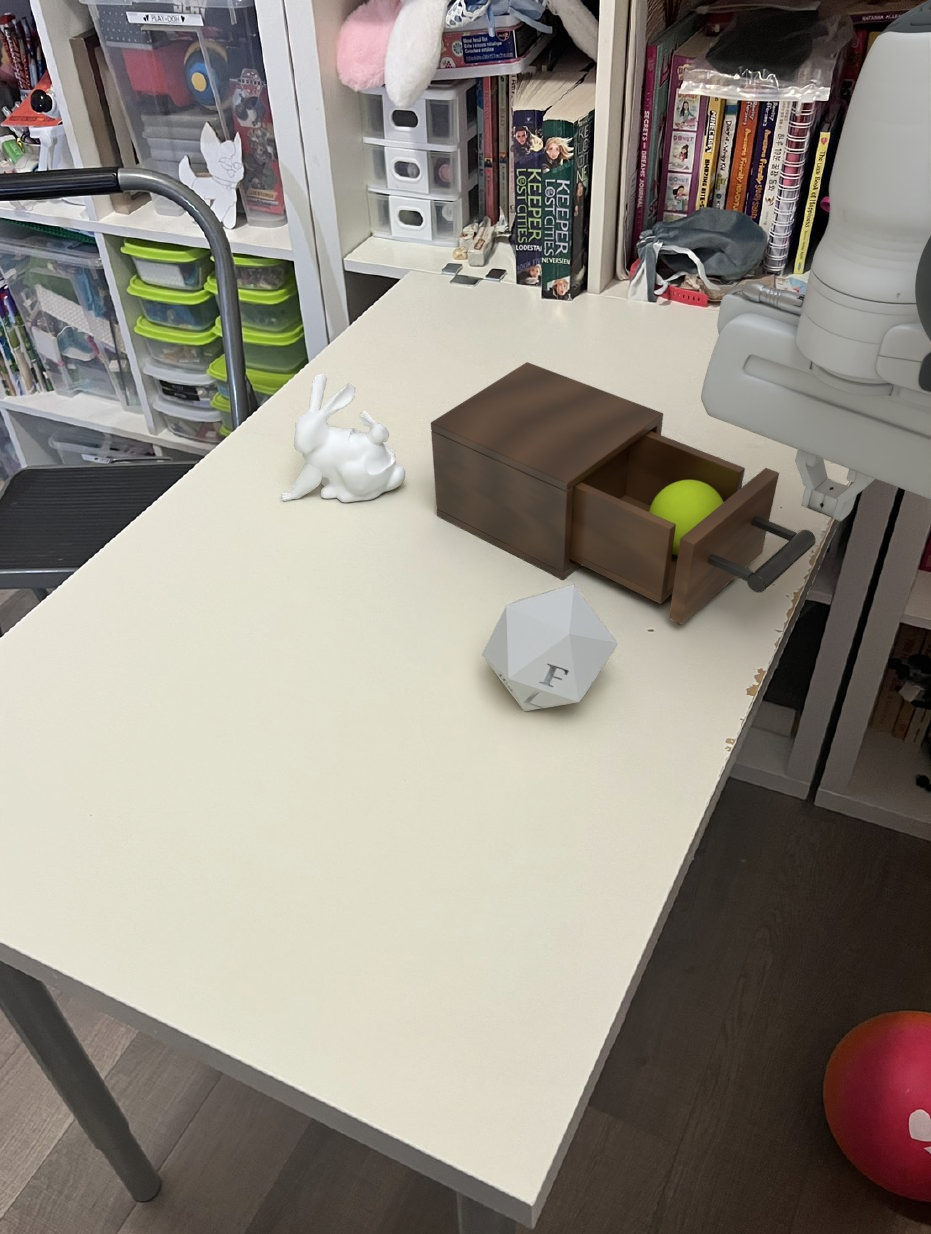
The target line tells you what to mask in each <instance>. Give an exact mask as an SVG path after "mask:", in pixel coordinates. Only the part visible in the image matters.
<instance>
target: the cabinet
mask: <svg viewBox="0 0 931 1234" xmlns="http://www.w3.org/2000/svg"><path fill="white" fill-rule="evenodd" d="M663 421H664V413H663V412H661V411H659V410H656V409H653V408H651V407H648V406H645V405H643V404H640V403H638V402H635V401H632V400H629V399H626V398H624V397H621V396H619V395H616V394H614V393H611V392H609V391H605V390H602V389H600V388H597V387H595V386H592V385H590V384H587V383H585V382H581V381H579V380H576V379H574V378H571V377H568V376H565V375H563V374H561V373H558V372H555V371H552V370H550V369H547V368H544V367H541V366H539V365H536V364H533V363H531V362H528V361H526V362H525V363H523V364H522V365H520V366H518V367H517V368H515V369H514V370H512V371H510V372H509V373H507V374H506V375H504V376H502V377H501V378H499V379H497V380H495V381H494V382H493V383H491V384H490V385H488V386H486V387H484V388H483V389H482V390H480V391H478V392H477V393H475V394H473V395H472V396H471V397H469V398H467V399H466V400H464V401H462V402H461V403H459V404H458V405H456V406H454V407H453V408H451V409H450V410H448V411H446V412H445V413H444V414H442V415H440V416H438V417H437V418H435V419H433V420H432V421H431V422H430V430H431V431H430V432H431V433H430V434H431V435H430V436H431V445H432V446H431V449H432V450H431V451H432V463H433V464H432V465H433V476H434V491H435V492H434V493H435V507H436V508H435V509H436V510H435V511H436V517H438V518H440V519H442V520H444V521H446V522H448V523H450V524H452V525H454V526H456V527H458V528H459V529H461V530H463V531H466V532H468V533H470V534H472V535H473V536H475V537H478V538H480V539H481V540H483V541H486V542H487V543H489V544H491V545H493V546H495V547H497V548H499V549H501V550H503V551H505V552H507V553H509V554H511V555H513V556H515V557H518V558H519V559H521V560H523V561H525V562H527V563H529V564H530V565H532V566H535V567H537V568H538V569H541V570H542V571H545V572H546V573H548V574H550V575H552V576H555V578H558V579H560V580H562V581H564V580H565V579H568V577H569V576H570V575H572V574H574V572H576V571H577V570H578V569H580V568H581V567H583V565H581V564H579V563H577V562H575V561H573V560H571V559H570V540H571V518H572V496H573V488H572V487H574V486H575V485H576V484H578V483H579V482H580V481H582V480H583V479H584V478H586V477H587V476H589V475H590V474H591V473H593V472H594V471H595V470H597V469H598V468H600V467H601V466H602V465H604V464H605V463H606V462H608V461H609V460H610V459H612V458H613V457H615V456H616V455H617V454H619V453H620V452H621V451H623V450H624V449H625V448H627V447H628V446H630V445H631V444H632V443H634V442H635V441H636V440H638V439H639V438H641V437H642V436H643V435H645V434H646V433H647V432H649V431H652V432H654V433H657V434H659V435H662V430H663Z"/></svg>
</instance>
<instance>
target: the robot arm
mask: <svg viewBox="0 0 931 1234" xmlns="http://www.w3.org/2000/svg"><path fill="white" fill-rule="evenodd" d="M860 69H861V70H860V72H859V74H858V78H857V81H856V82H855V86H854V89H853V91H852V95H851V98H850V102H849V104H848V108H847V112H846V114H845V119H844V123H843V126H842V130H841V133H840V138H839V142H838V146H837V149H836V153H835V158H834V162H833V164H832V165H833V166H832V170H831V174H830V178H829V179H830V180H829V184H828V198H829V215H828V216H829V217H828V221H827V226H826V228H825V231H824V233H823V235H822V237H821V240H820V241H819V243H818V245H817V247H816V249H815V251H814V254H813V257H812V262H811V265H810V270H809V274H808V279H807V284H806V288H805V292H804V294H802V293H800V292H795V291H792V290H788V289H782V288H776V287H772V286H769V285H768V284H767V283H765V282H761V281H757V280H747V281H746V282H745V283H744V284H738V285H734V286H732V287H731V288H730V289H728V290H727V291H726V292H725V294H724V296H723V297H722V299H721V301H720V305H719V310H718V317H717V324H716V326H717V334H718V337H717V339H716V342H715V343H714V347H713V348H712V349H713V350H712V352H711V355H710V359H709V361H708V365H707V368H706V372H705V376H704V380H703V385H702V388H701V392H700V393H701V394H700V400H701V403H702V405H703V407H704V410H705V412H706V413H707V416H710V417H711V418H714V419H716V420H718V421H721V422H725V423H727V424H729V425H732V426H735V427H738V428H740V429H742V430H746V431H748V432H750V433H753V434H756V435H759V436H761V437H764V438H766V439H769V440H772V441H774V442H778V443H780V444H783V445H786V446H788V447H791V448H793V449H796V450H797V451H796V455H795V458H794V463H795V464H796V468H797V471H798V473H799V476H800V479H801V482H802V485H803V487H804V491H803V495H802V499H801V502H800V505H801V507H804V508H807V509H808V510H810V511H813V512H816V513H818V514H821V515H823V516H826V517H828V518H831V519H833V520H836V521H838V522H842V521H844V519H846V518H847V517H848V516H849V515H850V514H851V512H852V510H853V509H854V505H855V501H856V498H857V495H858V494H860V493H861V492H862V491H864V490H865V489H866V488H867V487H868V486H870V484H872V483H873V482H875V480H877V481H880V482H883V483H886V484H888V485H891V486H894V487H896V488H899V489H902V490H904V491H906V492H909V493H912V494H915V495H916V496H920V497H922V498H925V499H927V500H930V501H931V0H926V1H925V2H922V3H920V4H918V5H917V6H915V7H913V8H911V9H910V10H908V11H907V12H905V13H904V14H901V15H900V16H899V17H897V18H896V19H895V20H894V21H892V22H890V24H888V25H887V26H886V28H885V29H884V30H883V31H882V32H881V33H879V34H878V35H877V37H876V38H875V40H873V43H872V44H871V46H870V49H869V51H868V52H867V55H866V57H865V59H864V62H863V64H862V67H861V68H860ZM825 461H827V462H830V463H833V464H835V465H838V466H841V467H843V468H846V469H848V471H847V474H846V477H845V478H846V479H845V480H847V481H848V482H850V483H851V484H850V485H849V486H848V485H845V484H843V483H840V482H837V481H835V480H833V479H831V478H829V477H828V473H827V469H826V468H827V467H826V464H825Z"/></svg>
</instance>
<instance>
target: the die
mask: <svg viewBox="0 0 931 1234" xmlns="http://www.w3.org/2000/svg"><path fill="white" fill-rule="evenodd" d="M618 645H619V641H617V639H616V638H615V637H614V635H613V634H612V633H611V631H610V630H609V628H608V627H607V626H606V625H605V624H604V622H603V621H602V620H601V618H600V617H599V615H598V614H597V613H596V611H595V610H594V608H593V607H592V606H591V604H589V602H588V601H587V599H586V598H585V596H584V595H583V593H581V591H580V590H579V589H578V587H577V586H576V584H570V585H567V586H562V587H559V588H556V589H552V590H549V591H545V592H541V593H538V594H534V595H531V596H527V597H524V598H523V597H522V598H520V599H518V600H515V601H513V602H511V603H508V604H506V605H505V607H504V609H503V611H502V613H501V615H500V618H499V619H498V621H497V622H496V624H495V627H494V629H493V630H492V633H491V635H490V636H489V639H488V641H487V643H486V645H485V646H484V649H483V651H482V653H481V656H482V657H483V658H484V660H485V662H487V664H488V665H489V666H490V668H491V669H492V671H493V672H494V673H495V675H496V676H497V677H498V678H499V680H500V682H502V684H503V686H504V687H505V688H506V689H507V690H508V692H509V693H510V695H511V697H512V698H513V699H514V700H515V701H516V702H517V704H518V705H519V706H520V708H521V709H522V710H523V711H524V712H528V711H534V710H539V709H545V708H552V707H559V706H565V705H571V704H577V703H580V702H581V701H582V699H583V698H584V697H585V695H586V694H587V693H588V691H589V690H590V689H591V687H592V685H593V684H594V682H595V681H596V679H597V678H598V677H599V674H600V673H601V671H602V670H603V668H604V667H605V665H606V663H607V662H608V660H609V659H610V657H611V656H612V654H613V653H614V651H615V650H616V648H617V647H618Z"/></svg>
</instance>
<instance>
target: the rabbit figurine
mask: <svg viewBox="0 0 931 1234" xmlns="http://www.w3.org/2000/svg"><path fill="white" fill-rule="evenodd" d="M327 382H328V378H327V376H326V374H325V373H318V374H316V375H315V376H314V377H313V380H312V383H311V389H310V397H309V406H308V410H307V411H306V412H304V413H302V414H301V415H300V416H299V417H298V418H297V419H296V420H295V425H294V437H293V447H294V450H295V451H296V452H298V453H301V455H302V457H303V458H302V459H303V460H304V462H305V463H304V466H303V468H302V470H301V472H300V474H299V476H298V478H297V479H296V481H295V483H294V484H293V486H292V488H291V491H288V492H286V491H285V492H281V493H280V494H279V498H280V499H279V501H282V502H286V501H291V500H299V499H301V498H302V497H303V496H306V495H307V494H309V493H310V492H313V491H314V490H315V489H316V488H318V487H319V485H320V484H321V485H322V486H323V487H322V488H321V490H320V498H322V499H337V500H339V501H340V502H342V503H350V502H359V501H360V502H361V501H370V500H373V499H376V498H378V497H379V496H380V495H381V494H383V493H386V492H390V491H393V490H394V489H396V488H398V487H400V486H401V485H402V484H403V483H404V481H405V478H406V469H405V467H404V466H402V465H399V464H398V463H397V461H396V453H395V452H394V451H393V448H392V447H390V446H389V445H388V444H386V442H388V441H389V438H390V432H389V429H388V428H387V426H385V424H383V423H379V422H376V420H374V418H373V417H372V415H371V414H370V413H369V412H368V411H367V410H366V409H363V410H361V412H360V414H361V415H359V417H358V420H359V423H360V424H362V425H363V426H365V427H368V428H369V430H368V432H365V431H361V430H357V429H356V428H355V427H351V428H342V427H339V426H335V425H330V424H329V423H328V422H327V420H329V418H330V417H332V416H333V415H334V414H336V413H337V412H339V411H340V410H343V409H345V408H346V407H347V406H349V405H350V404H351V403H352V402H353V400H354V399H355V397H356V386H355V385H353V383H352V382H348V383H346V384H345V385H344V386H342V388H341V389H340V390H338V391H337V392H335V393H334V394H333V395H332V396H331V397H330V398H329V399H328V400H326V402H325V403H324V404H323V399H324V393H325V390H326V386H327ZM322 404H323V405H322Z"/></svg>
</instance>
